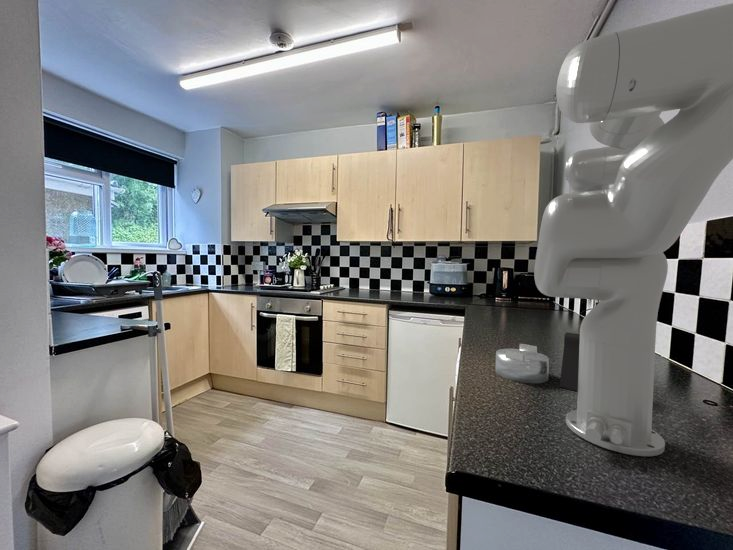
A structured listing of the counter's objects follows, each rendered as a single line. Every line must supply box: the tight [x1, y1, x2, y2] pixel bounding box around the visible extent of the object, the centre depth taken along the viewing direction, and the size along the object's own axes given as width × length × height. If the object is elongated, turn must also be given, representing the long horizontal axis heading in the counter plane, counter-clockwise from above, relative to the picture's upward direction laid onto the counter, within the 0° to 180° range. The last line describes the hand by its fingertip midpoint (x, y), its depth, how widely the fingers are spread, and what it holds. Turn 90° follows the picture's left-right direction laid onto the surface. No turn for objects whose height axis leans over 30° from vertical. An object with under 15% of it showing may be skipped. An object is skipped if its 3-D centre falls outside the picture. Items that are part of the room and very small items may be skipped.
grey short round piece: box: [495, 343, 550, 384], centre depth 78 cm, size 12×12×7 cm
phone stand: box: [559, 332, 580, 393], centre depth 71 cm, size 9×6×12 cm, turn 135°
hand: (584, 290), depth 70 cm, fingers open, 9 cm apart
